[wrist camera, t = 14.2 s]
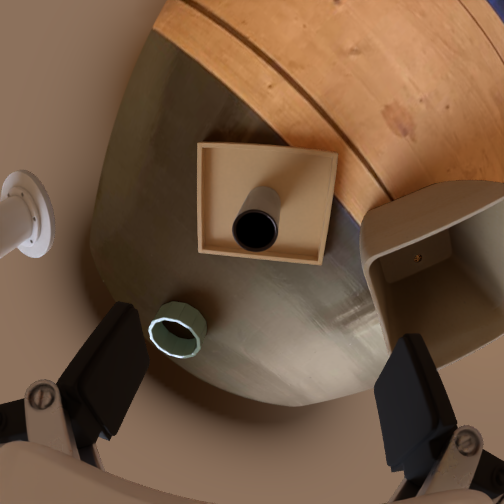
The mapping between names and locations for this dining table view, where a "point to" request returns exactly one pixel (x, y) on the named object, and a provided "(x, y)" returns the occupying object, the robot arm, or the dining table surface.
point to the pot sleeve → (184, 317)
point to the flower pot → (438, 267)
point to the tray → (270, 175)
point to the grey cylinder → (258, 220)
